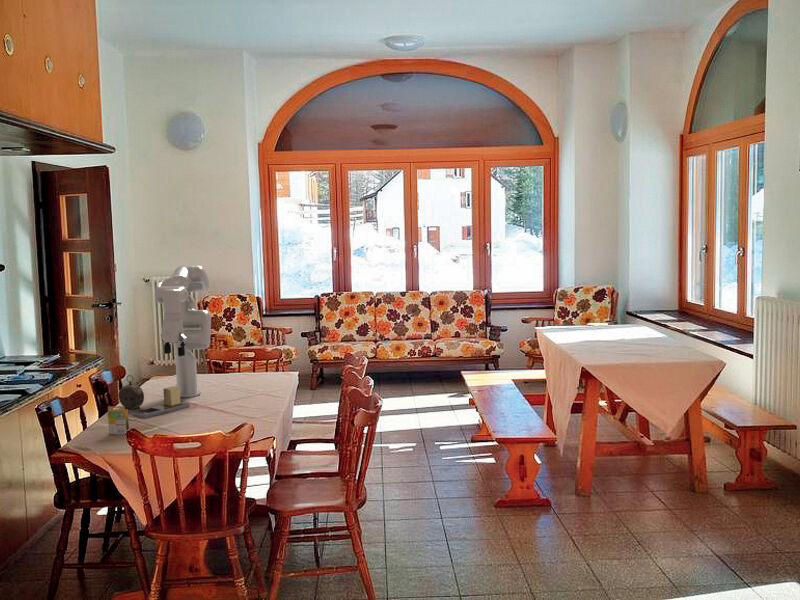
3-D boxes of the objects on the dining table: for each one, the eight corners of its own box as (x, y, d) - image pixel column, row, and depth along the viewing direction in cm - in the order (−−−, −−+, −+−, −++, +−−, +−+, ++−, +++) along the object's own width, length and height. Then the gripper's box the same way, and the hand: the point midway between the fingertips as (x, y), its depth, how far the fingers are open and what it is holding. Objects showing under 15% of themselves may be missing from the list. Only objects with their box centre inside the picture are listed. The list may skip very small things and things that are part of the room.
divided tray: (132, 417, 370) (132, 411, 369) (176, 406, 389) (176, 400, 389) (145, 420, 364) (145, 414, 364) (189, 408, 383) (189, 403, 383)
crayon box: (129, 432, 345) (127, 404, 344) (126, 434, 342) (125, 406, 341) (111, 432, 346) (110, 404, 345) (108, 434, 343) (107, 406, 342)
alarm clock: (145, 410, 383) (143, 374, 381) (138, 413, 378) (136, 377, 376) (124, 408, 386) (123, 373, 384) (117, 411, 381) (115, 375, 379)
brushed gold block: (164, 408, 381) (163, 388, 380) (173, 406, 385) (172, 386, 384) (171, 409, 378) (170, 389, 377) (180, 407, 382) (179, 387, 381)
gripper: (153, 316, 380) (155, 353, 383) (178, 319, 370) (180, 358, 372) (167, 313, 386) (169, 351, 389) (191, 317, 376) (193, 355, 378)
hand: (174, 354), depth 380 cm, fingers open, 9 cm apart
